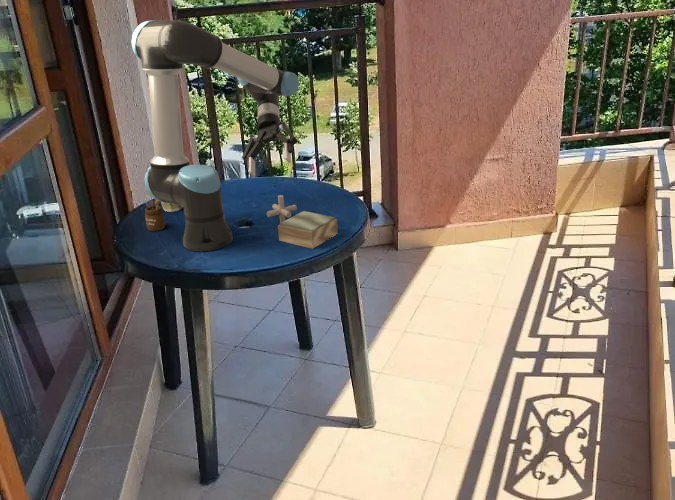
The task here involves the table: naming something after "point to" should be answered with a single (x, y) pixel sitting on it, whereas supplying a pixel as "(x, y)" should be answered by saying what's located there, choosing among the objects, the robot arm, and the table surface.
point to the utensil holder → (154, 217)
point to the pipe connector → (281, 209)
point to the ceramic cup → (170, 207)
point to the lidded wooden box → (307, 229)
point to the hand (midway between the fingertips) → (269, 167)
